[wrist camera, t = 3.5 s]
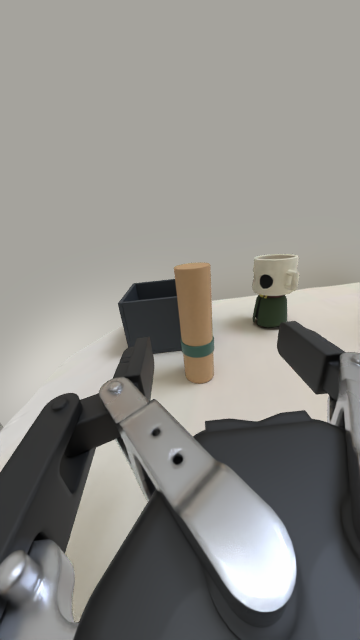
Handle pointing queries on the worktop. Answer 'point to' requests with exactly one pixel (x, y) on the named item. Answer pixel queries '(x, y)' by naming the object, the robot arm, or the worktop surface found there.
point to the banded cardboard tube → (195, 320)
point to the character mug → (273, 287)
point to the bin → (152, 315)
